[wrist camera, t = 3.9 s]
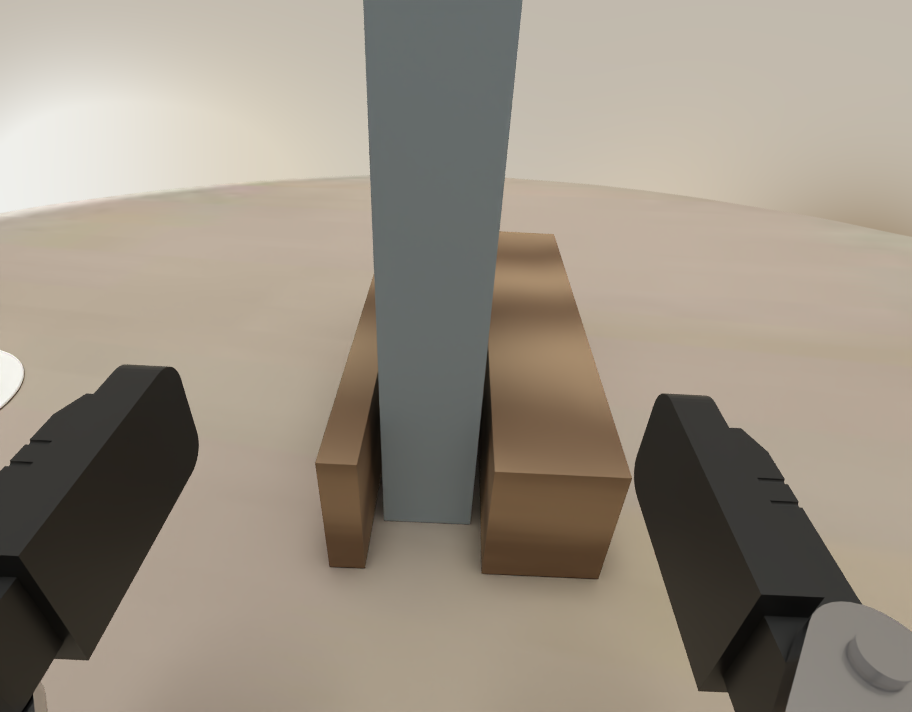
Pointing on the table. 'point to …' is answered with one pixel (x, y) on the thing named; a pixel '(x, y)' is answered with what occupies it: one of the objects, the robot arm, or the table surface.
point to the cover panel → (435, 235)
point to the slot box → (500, 431)
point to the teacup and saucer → (9, 376)
